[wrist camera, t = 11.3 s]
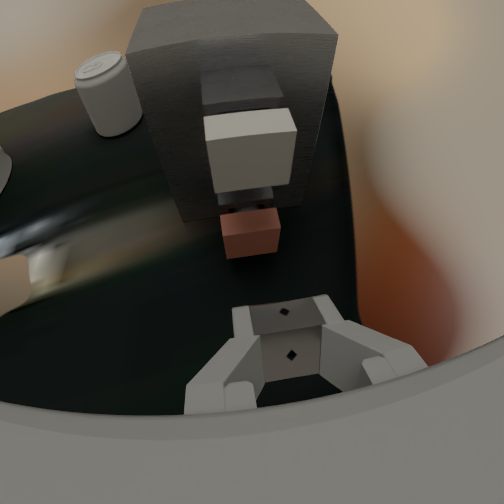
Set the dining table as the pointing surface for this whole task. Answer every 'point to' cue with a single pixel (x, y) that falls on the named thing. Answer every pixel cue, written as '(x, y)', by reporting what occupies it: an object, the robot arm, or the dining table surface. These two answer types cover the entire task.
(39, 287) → the dining table surface
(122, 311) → the dining table surface
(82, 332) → the dining table surface
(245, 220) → the brown block
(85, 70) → the beverage can
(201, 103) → the box
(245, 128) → the white key
